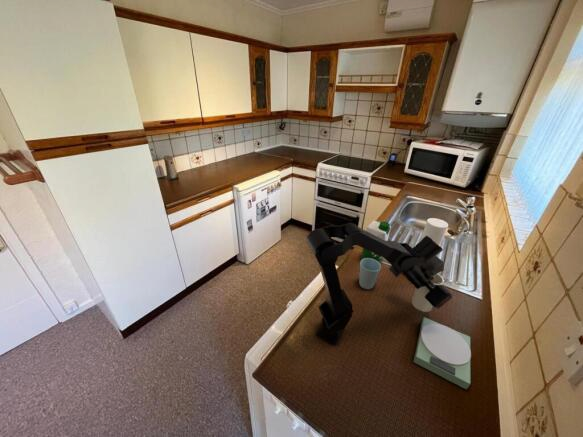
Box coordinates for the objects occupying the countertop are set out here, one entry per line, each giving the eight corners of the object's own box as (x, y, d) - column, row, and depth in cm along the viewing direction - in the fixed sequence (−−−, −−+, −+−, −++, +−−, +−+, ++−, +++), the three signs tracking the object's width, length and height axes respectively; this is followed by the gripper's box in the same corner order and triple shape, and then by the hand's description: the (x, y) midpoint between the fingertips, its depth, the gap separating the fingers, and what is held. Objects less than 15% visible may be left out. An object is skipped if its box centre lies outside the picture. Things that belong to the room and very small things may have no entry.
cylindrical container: (430, 279, 99) (451, 228, 87) (412, 276, 100) (430, 226, 88) (426, 268, 105) (444, 219, 93) (408, 266, 106) (424, 217, 94)
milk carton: (377, 268, 105) (386, 230, 95) (358, 260, 110) (365, 222, 100) (384, 259, 111) (394, 221, 101) (366, 251, 116) (373, 215, 106)
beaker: (430, 315, 80) (443, 287, 74) (409, 306, 83) (419, 279, 77) (433, 302, 85) (444, 275, 79) (412, 294, 88) (422, 267, 82)
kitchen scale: (466, 389, 63) (471, 382, 61) (413, 362, 69) (416, 355, 68) (466, 342, 75) (471, 335, 73) (421, 322, 81) (424, 315, 79)
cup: (378, 291, 93) (383, 271, 88) (358, 291, 93) (362, 270, 88) (373, 278, 99) (377, 258, 94) (354, 277, 100) (358, 257, 95)
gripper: (459, 273, 64) (475, 295, 72) (411, 235, 79) (428, 257, 87) (426, 299, 66) (445, 318, 73) (385, 258, 81) (405, 277, 89)
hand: (430, 289), depth 81 cm, fingers closed on beaker, 7 cm apart
